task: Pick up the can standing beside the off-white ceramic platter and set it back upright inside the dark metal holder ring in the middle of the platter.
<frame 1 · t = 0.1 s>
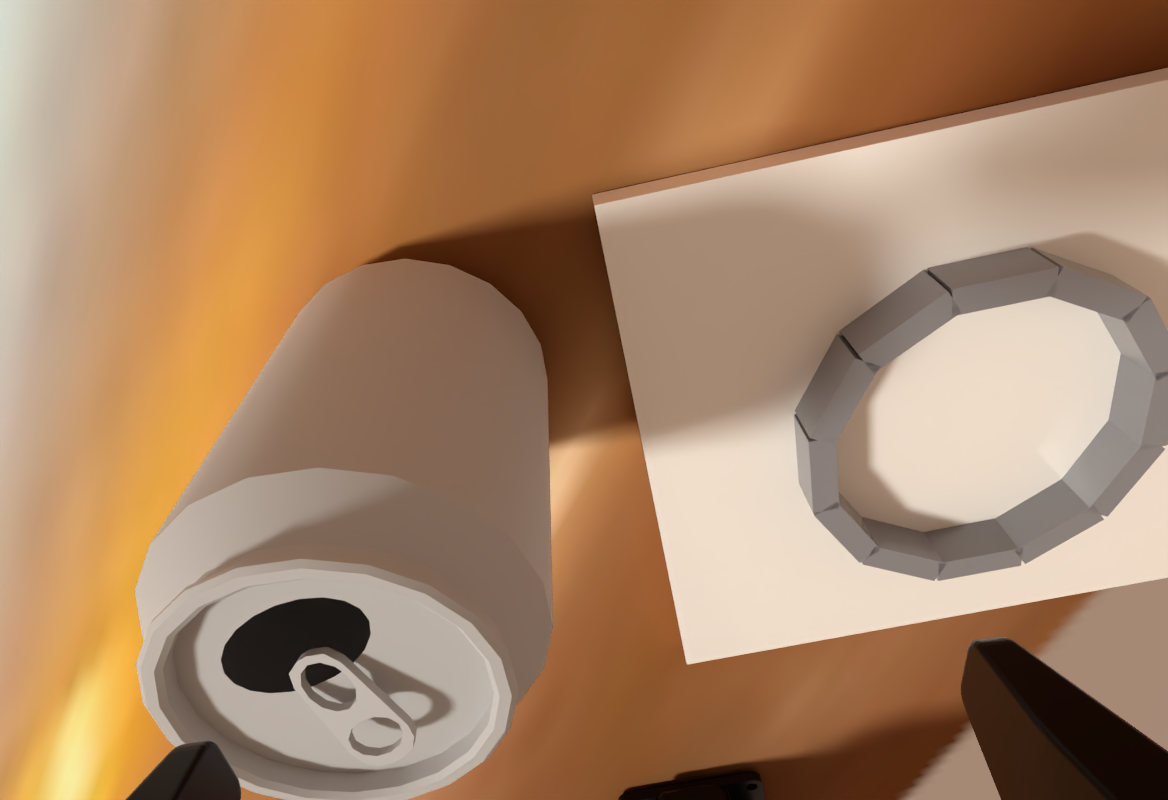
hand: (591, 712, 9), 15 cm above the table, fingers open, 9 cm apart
can: (423, 363, 23), on the table
platter: (951, 399, 25), on the table
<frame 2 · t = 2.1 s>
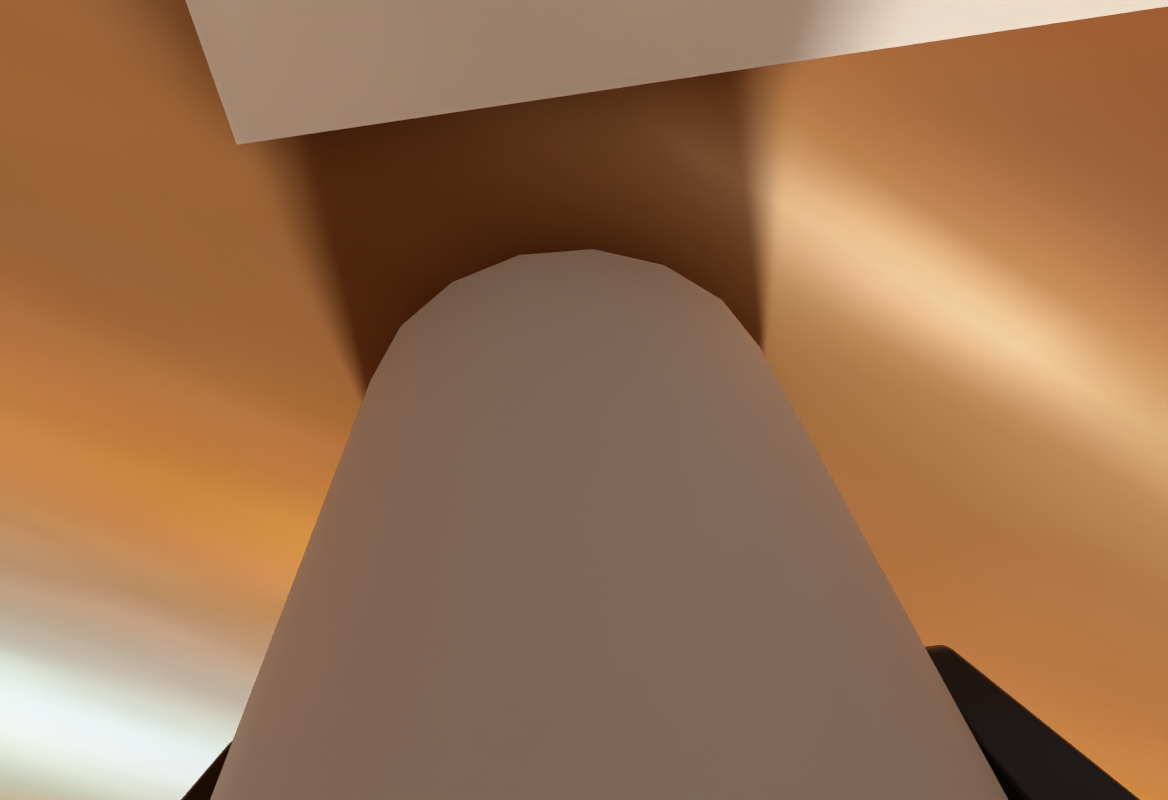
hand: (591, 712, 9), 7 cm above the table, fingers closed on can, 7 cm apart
can: (571, 414, 15), on the table, touching gripper
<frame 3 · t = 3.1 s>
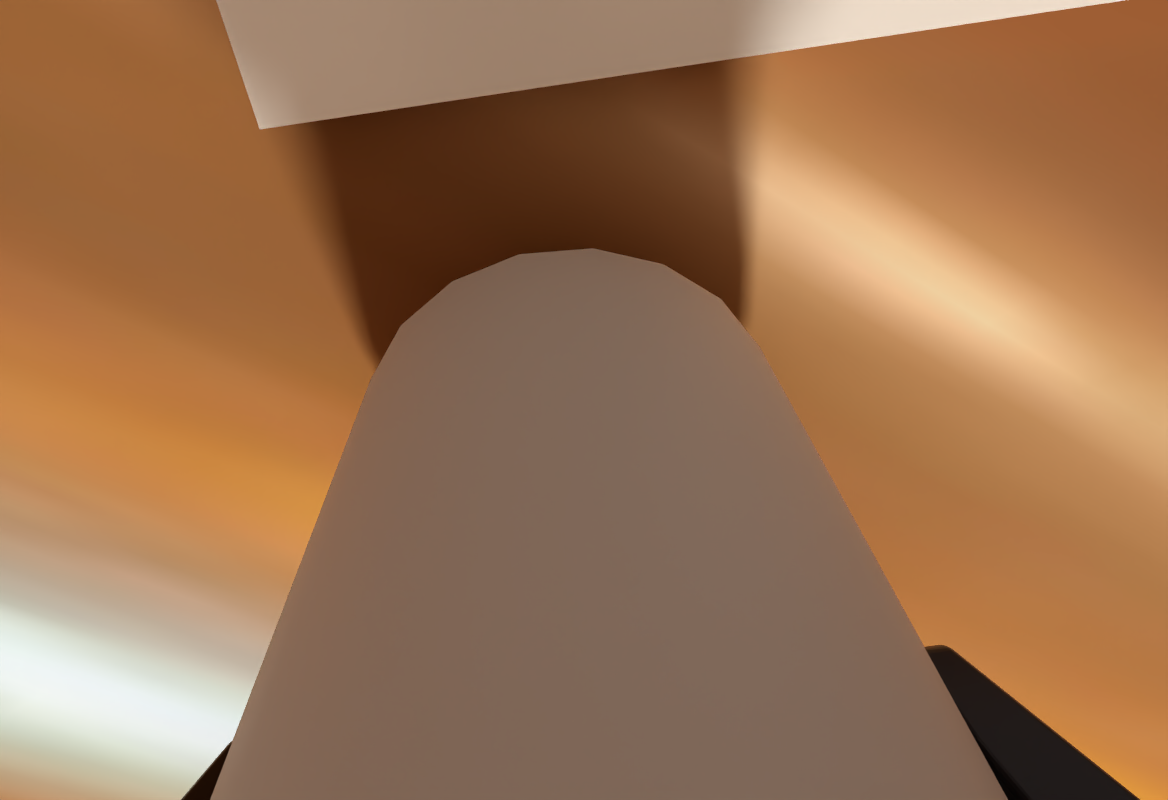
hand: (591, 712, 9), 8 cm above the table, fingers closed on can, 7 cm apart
can: (570, 413, 15), point 1 cm above the table, touching gripper
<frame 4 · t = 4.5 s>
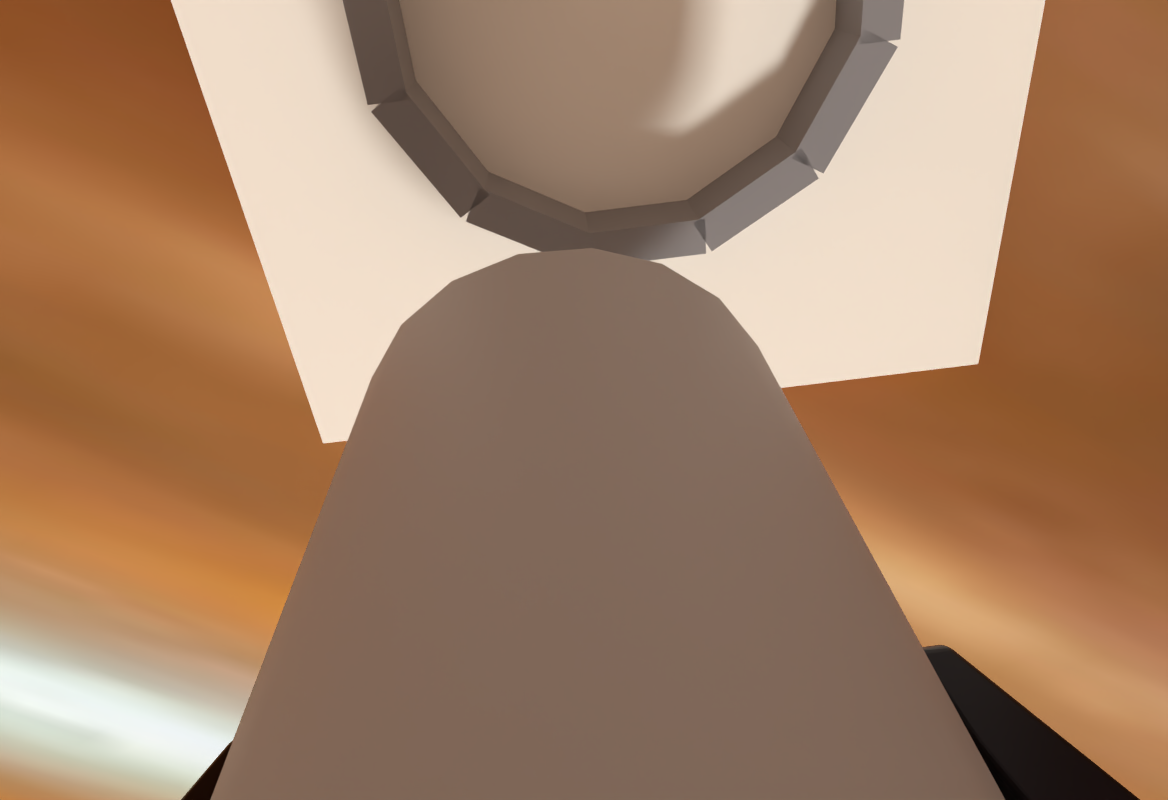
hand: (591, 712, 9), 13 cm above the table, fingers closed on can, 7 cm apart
can: (570, 411, 15), point 6 cm above the table, touching gripper
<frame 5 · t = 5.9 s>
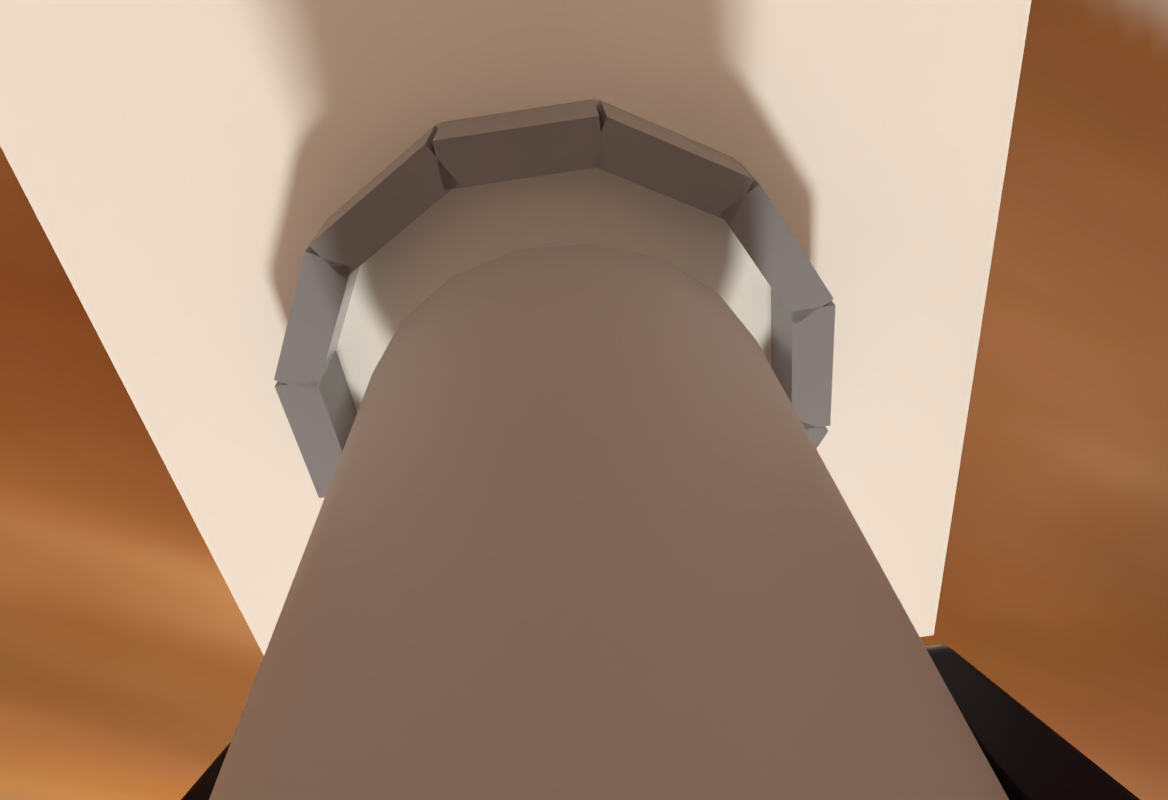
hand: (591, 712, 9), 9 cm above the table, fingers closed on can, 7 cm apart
can: (570, 407, 15), point 2 cm above the table, touching gripper
platter: (559, 348, 17), on the table
when the fingers open (9 cm above the table, at t = 6.9 s): can drops 1 cm, resting on platter.
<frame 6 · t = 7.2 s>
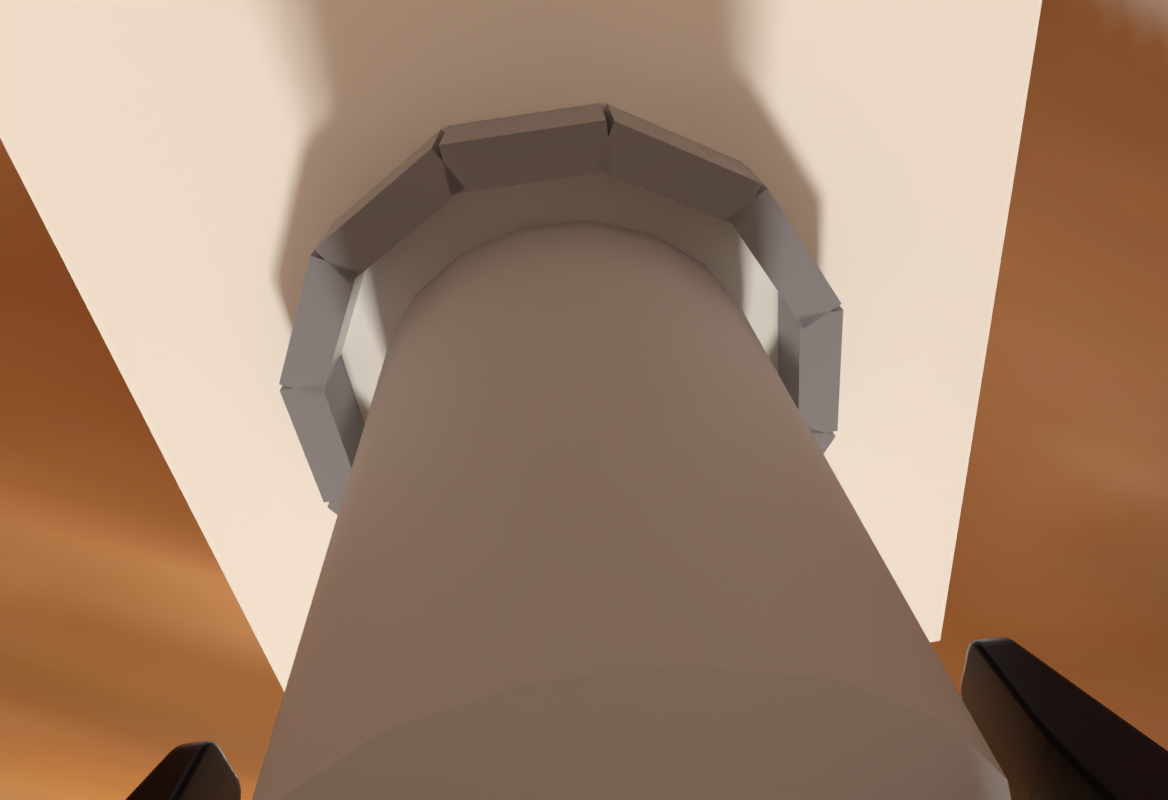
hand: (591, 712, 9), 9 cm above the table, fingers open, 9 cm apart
can: (570, 373, 16), point 1 cm above the table, touching platter
platter: (565, 352, 17), on the table
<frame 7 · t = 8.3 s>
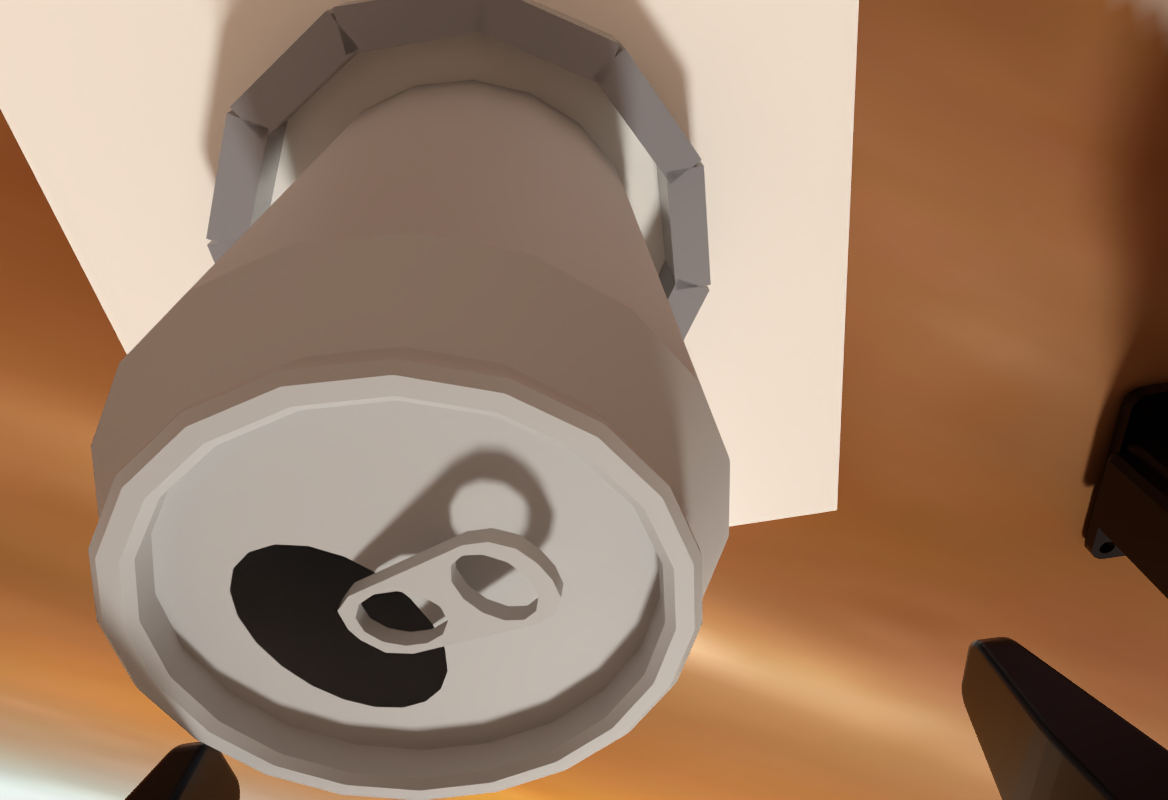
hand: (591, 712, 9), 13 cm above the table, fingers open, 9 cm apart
can: (476, 240, 18), point 1 cm above the table, touching gripper, platter
platter: (474, 228, 19), on the table
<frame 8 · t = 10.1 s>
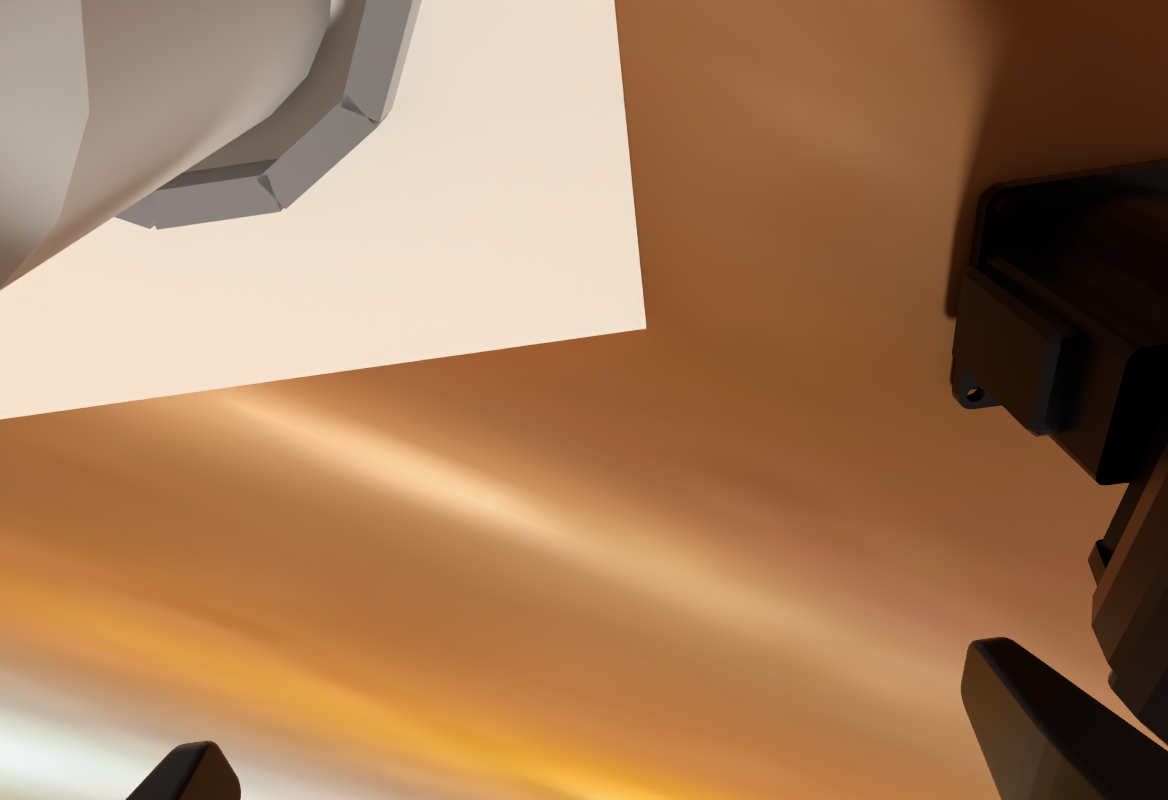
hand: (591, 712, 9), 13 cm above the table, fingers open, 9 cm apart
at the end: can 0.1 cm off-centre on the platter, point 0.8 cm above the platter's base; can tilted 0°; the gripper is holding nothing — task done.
